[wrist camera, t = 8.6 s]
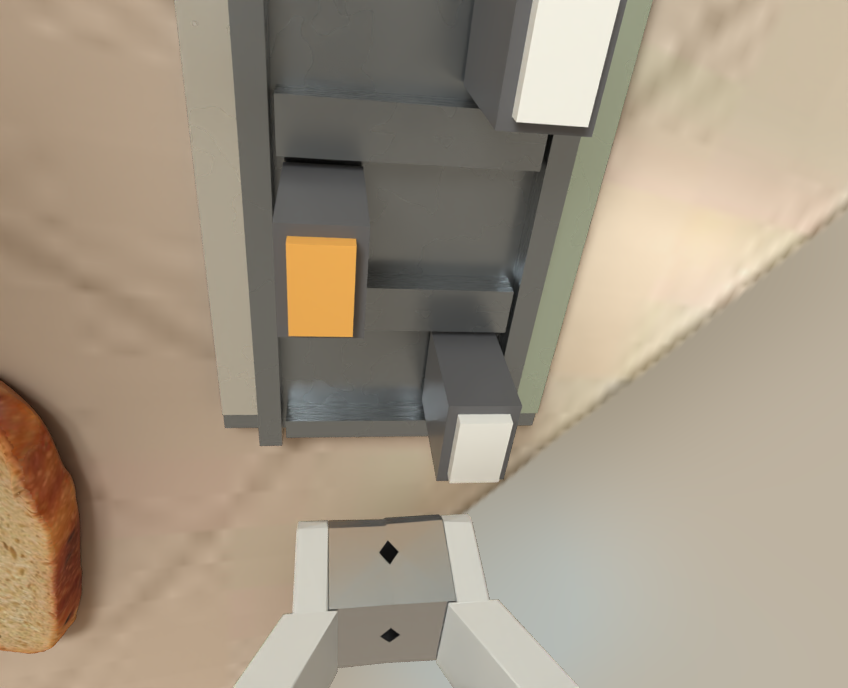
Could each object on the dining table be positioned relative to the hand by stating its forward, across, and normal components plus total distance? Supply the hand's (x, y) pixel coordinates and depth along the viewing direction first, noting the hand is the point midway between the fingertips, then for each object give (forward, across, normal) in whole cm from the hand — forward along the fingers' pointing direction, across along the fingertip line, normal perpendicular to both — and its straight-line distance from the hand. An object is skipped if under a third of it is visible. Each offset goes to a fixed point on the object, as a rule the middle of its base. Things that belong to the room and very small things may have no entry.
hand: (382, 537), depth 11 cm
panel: (+16, -2, +1) cm, 16 cm away
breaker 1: (+15, -5, +8) cm, 17 cm away
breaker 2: (+15, -5, -6) cm, 17 cm away
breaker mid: (+15, +1, +1) cm, 15 cm away
